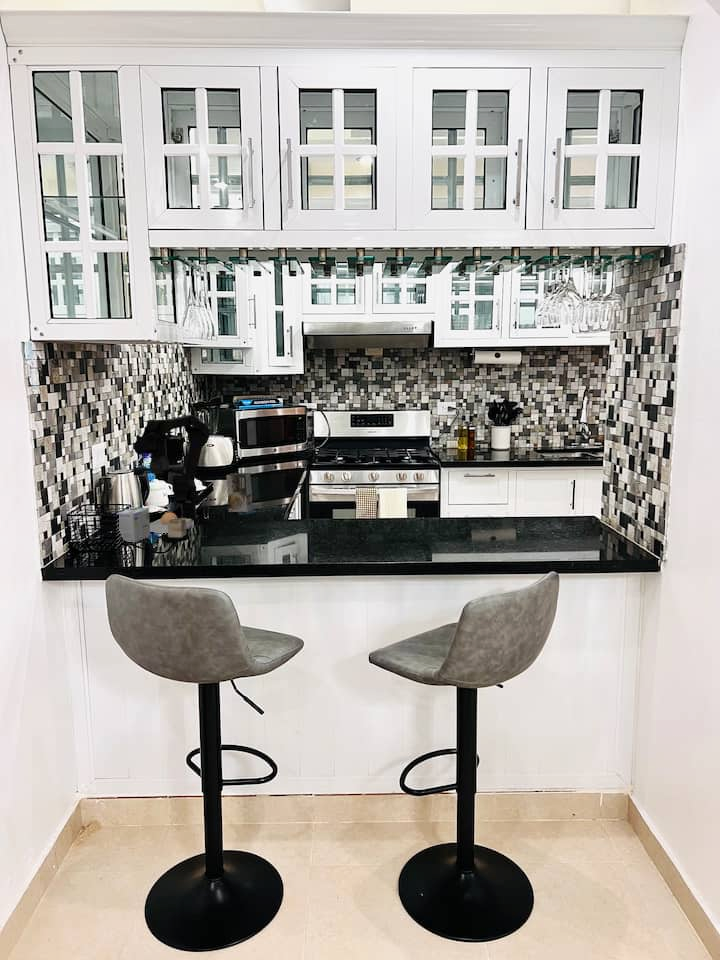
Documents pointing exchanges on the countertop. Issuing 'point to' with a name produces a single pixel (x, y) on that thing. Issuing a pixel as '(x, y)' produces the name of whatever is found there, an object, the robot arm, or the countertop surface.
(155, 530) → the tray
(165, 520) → the ball
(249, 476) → the coffee box
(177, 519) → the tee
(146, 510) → the light bulb box
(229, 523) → the countertop surface
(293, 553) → the countertop surface
